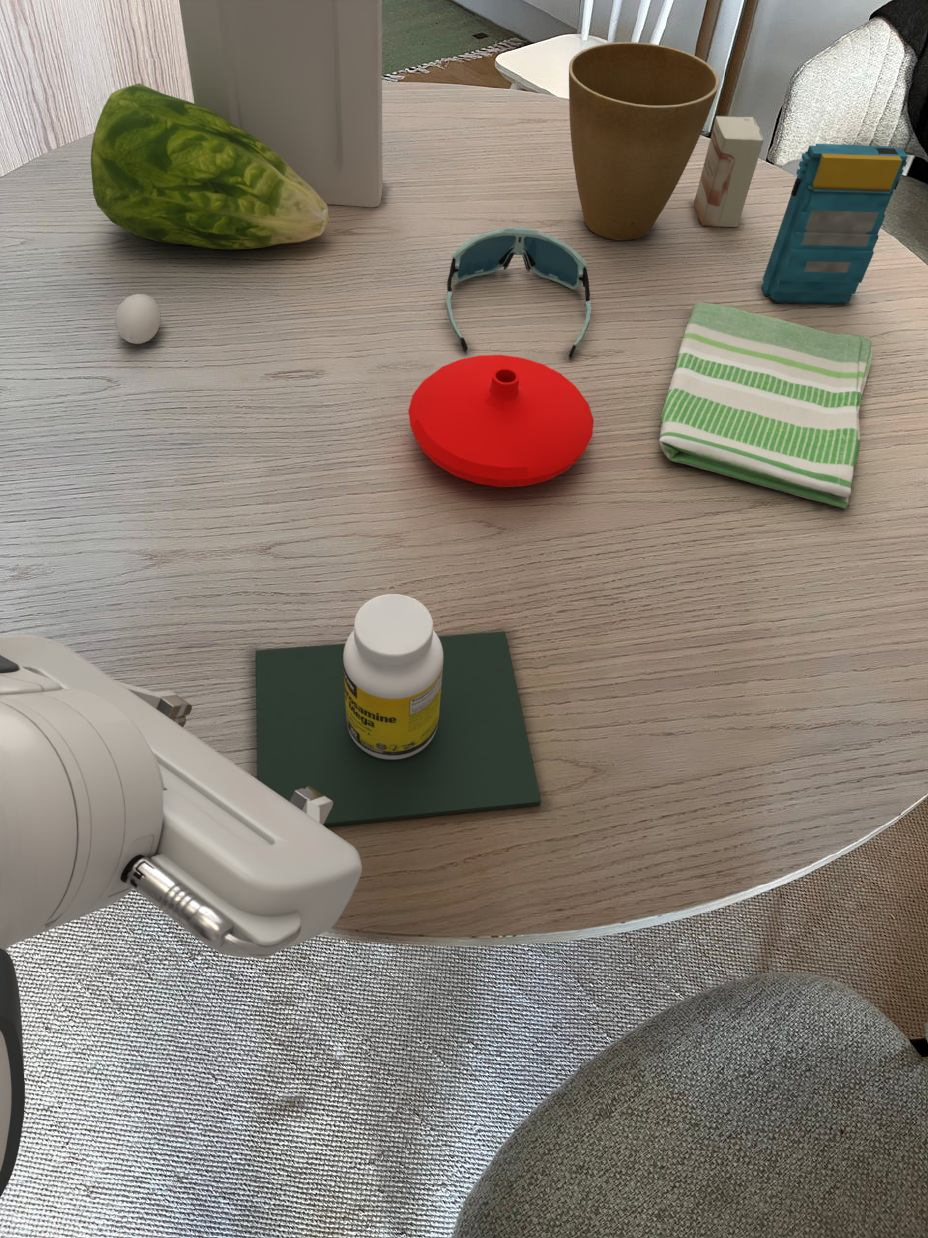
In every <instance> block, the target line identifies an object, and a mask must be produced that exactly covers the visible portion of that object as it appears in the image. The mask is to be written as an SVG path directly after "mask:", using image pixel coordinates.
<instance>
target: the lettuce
mask: <svg viewBox="0 0 928 1238" xmlns="http://www.w3.org/2000/svg"><path fill="white" fill-rule="evenodd" d="M90 172H91V183H92V194H93V197H94V201H95V203H96V206H97V207H98V209H100V210H101V212H102V213H103V214H104V215H105V216H106V217H107V218H108V219H109V220H110V222H111V223H113V224H114V225H116V226H118V227H119V228H122V229H123V230H125V231H126V232H129V233H131V234H132V235H135V236H137V237H138V238H142V239H146V240H150V241H154V242H159V243H166V244H176V245H187V246H192V247H198V248H203V249H212V250H223V251H224V250H230V251H231V250H249V249H259V248H266V247H271V246H275V245H279V244H282V245H283V244H292V243H293V244H294V243H301V242H306V241H309V240H312V239H315V238H318V237H320V236H322V234H323V233H324V232H325V230H326V228H327V226H328V225H329V223H330V219H329V208H328V207H329V206H328V204H326V203H325V202H324V201H323V199H322V198H321V197H320V196H319V195H318V193H317V192H316V191H315V190H314V189H313V188H312V187H311V186H310V185H309V184H307V183H306V182H305V181H304V180H303V179H302V178H301V177H299V176H298V175H297V174H296V173H295V172H294V171H293V170H292V169H291V168H290V167H289V166H288V164H287V163H286V162H285V161H284V160H283V159H282V158H281V157H280V156H279V155H278V154H276V153H275V152H274V151H273V150H272V149H270V148H269V147H268V146H267V145H266V144H264V143H263V142H261V141H259V140H258V139H256V138H255V137H253V136H252V135H250V134H249V133H247V132H245V131H243V130H241V129H240V128H238V127H236V126H234V125H233V124H231V123H229V122H228V121H226V120H225V119H223V118H222V117H220V116H219V115H217V114H216V113H214V112H213V111H211V110H209V109H206V108H204V107H201V106H199V105H196V104H194V102H191V101H189V100H185V99H183V98H178V97H175V96H172V95H168V94H166V93H162V92H161V91H158V90H155V89H153V88H151V87H149V86H146V85H144V84H142V83H136V84H135V83H134V84H132V85H129V86H126V87H123V88H118V89H117V90H115V91H114V92H111V93H110V95H109V97H108V99H107V100H106V102H105V104H104V105H103V108H102V110H101V113H100V115H99V118H98V120H97V123H96V125H95V129H94V133H93V138H92V143H91V152H90Z"/></svg>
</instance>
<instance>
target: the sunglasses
mask: <svg viewBox="0 0 928 1238" xmlns="http://www.w3.org/2000/svg"><path fill="white" fill-rule="evenodd" d="M514 256H521V257H522V259H523V260H522V261H523V263H524V267H525V269H526V271H527V273H529V272H530V271H532V272H533V273H534V274H536V275H537V276H539V277H540V278H543V279H547V280H550V281H553V282H556V283H558V284H560V285H562V286H564V287H566V288H569V289H571V290H578V289H581V288H582V287H583V289H584V297H585V299H584V312H585V320H584V323H583V327H582V330H581V332H580V333H579V336H578V337H577V339H576V341H575V342H574V343H573V345H572V346H571V349H570V352H569V354H568V358H571V359H572V357H573V355H574V354H575V351H576V350H577V349H578V346H579V345H580V343H581V342H582V340H583V339H584V337H585V334H586V332H587V330H588V327H589V324H590V319H591V313H592V303H591V291H590V281H589V274H588V269H587V267H588V264H587V261H586V260H585V259H584V258H583V256H582V254H580V253H579V252H578V251H577V250H575V249H574V248H572V247H571V246H570V245H569V244H568V243H565V242H564V241H562V240H560V239H558V238H556V237H555V236H553V235H551V234H548V233H545V232H541V231H539V230H538V229H532V228H526V227H525V228H524V227H518V226H517V227H504V228H502V229H494V230H491V231H488V232H485V233H481V234H479V235H477V236H475V237H473V238H471V239H469V240H467V241H466V242H465V243H463V244H462V245H460V246H459V247H458V248H457V249H456V250H455V251H454V252H453V254H452V255H451V257H452V259H451V263H450V267H449V274H448V278H447V281H446V282H447V283H446V284H447V286H446V288H447V295H446V299H445V301H446V302H445V303H446V304H445V305H446V312H447V313H446V314H447V317H448V320H449V323H450V325H451V328H452V329H451V330H452V331H453V332H454V334H455V335H456V337H457V339H458V341H459V343H461V347H462V349H463V351H465V352H466V351H468V350H469V348H468V345H467V342H466V340H465V338H464V336H463V335H462V333H461V331H460V330H459V328H458V325H457V323H456V321H455V317H454V313H453V310H452V301H453V294H454V293H453V289H452V282H453V281H452V280H454V281H456V282H459V283H460V282H462V281H466V280H468V279H471V278H476V277H479V276H480V277H481V276H485V275H491V274H493V273H495V272H497V271H498V270H500V269H503V270H504V271H506V270H507V269H508V267H509V265H510V264H511V262H512V259H513V257H514Z"/></svg>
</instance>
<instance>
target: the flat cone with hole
mask: <svg viewBox="0 0 928 1238" xmlns="http://www.w3.org/2000/svg"><path fill="white" fill-rule="evenodd" d="M407 412H408V418H409V425H410V429H411V431H412V434H413V437H414V438H415V440H416V442H417V444H418V446H419V447H420V449H421V452H423V454H425V455H426V457H428V458H429V459H430V460H431V461H432V462H433V463H434V464H435V465H436V466H438V467H439V468H440V469H443V470H445V471H446V472H448V473H449V474H450V475H453V476H454V477H457V478H460V479H463V480H466V481H469V482H472V483H475V484H478V485H484V486H485V485H486V486H492V487H498V488H499V487H500V488H509V487H511V488H512V487H527V486H531V485H535V484H539V483H543V482H544V483H545V482H547V481H549V480H551V479H554V478H556V477H557V476H560V475H561V474H563V473H566V471H568V470H569V469H570V468H571V467H572V466H573V465H574V464H575V463H576V462H577V461H579V460H580V458H581V457H582V455H583V454H584V453H585V451H586V450H587V448H588V445H589V444H590V441H591V440H592V439H593V434H594V422H595V419H594V417H593V414H592V410H591V407H590V404H589V402H588V401H587V399H586V398H585V396H584V395H583V394H582V393H581V392H580V390H579V389H578V387H577V386H576V385H575V384H574V383H573V382H571V381H570V380H569V379H568V378H567V377H566V376H564V375H563V374H562V373H560V372H559V371H557V370H555V369H553V368H551V367H549V366H547V365H545V364H544V363H541V362H537V361H535V360H531V359H528V358H524V357H519V356H512V355H505V354H480V355H475V356H470V357H465V358H461V359H458V360H455V361H452V362H451V363H448V364H445V365H443V366H442V367H440V368H439V369H437V370H436V371H435V372H432V374H430V375H429V376H428V377H426V378H425V379H424V380H422V382H420V384H419V386H418V387H417V388H416V390H415V391H414V392H413V393H412V396H411V399H410V403H409V406H408V410H407Z"/></svg>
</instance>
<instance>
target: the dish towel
mask: <svg viewBox="0 0 928 1238" xmlns="http://www.w3.org/2000/svg"><path fill="white" fill-rule="evenodd" d="M871 349H872V339H870V338H869V337H867V336H863V335H857V334H851V333H837V332H835V333H834V332H829V331H826V330H820V329H817V328H813V327H810V326H806V325H802V324H800V323H796V322H791V321H788V320H785V319H780V318H776V317H773V316H768V315H763V314H759V313H755V312H750V311H747V310H744V309H741V308H737V307H733V306H729V305H722V304H717V303H710V302H697V303H696V304H694V305H693V306H692V308H691V310H690V316H689V319H688V321H687V324H686V327H685V330H684V334H683V336H682V340H681V343H680V346H679V350H678V353H677V357H676V360H675V366H674V372H673V374H672V376H671V380H670V383H669V387H668V391H667V393H666V395H665V400H664V403H663V407H662V410H661V415H660V432H659V438H658V446H659V448H660V449H661V451H662V453H663V454H664V455H665V457H666V458H667V459H668V460H669V461H671V462H674V463H679V464H681V465H682V464H683V465H687V466H690V467H693V468H698V469H699V470H700V469H701V470H705V471H708V472H713V473H716V474H719V475H723V476H726V477H730V478H733V479H737V480H741V481H744V482H748V483H751V484H754V485H758V486H761V487H765V488H769V489H773V490H775V491H780V492H784V493H788V494H790V495H793V496H797V497H800V498H804V499H807V500H812V501H816V502H819V503H824V504H827V505H831V506H834V507H838V508H840V509H844V510H845V509H847V507H848V504H849V498H850V496H851V493H852V481H853V479H854V469H855V466H856V464H857V460H858V457H859V454H860V451H859V450H860V444H861V431H860V430H861V429H860V408H861V405H862V404H861V403H862V396H863V393H864V390H865V387H866V384H867V380H868V377H869V372H870V369H871V366H872V363H873V359H874V358H873V357H874V352H873V351H872V350H871Z"/></svg>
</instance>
